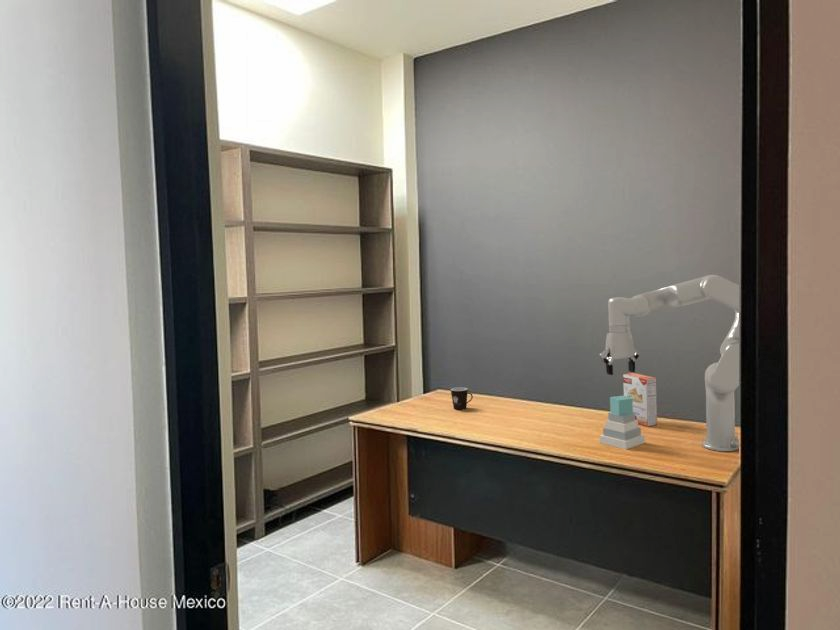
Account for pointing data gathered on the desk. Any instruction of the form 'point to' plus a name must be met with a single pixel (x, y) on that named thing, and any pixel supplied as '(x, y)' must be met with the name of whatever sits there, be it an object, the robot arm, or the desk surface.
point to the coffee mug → (460, 398)
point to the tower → (622, 431)
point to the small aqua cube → (621, 405)
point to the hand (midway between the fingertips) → (620, 373)
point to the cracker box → (642, 397)
